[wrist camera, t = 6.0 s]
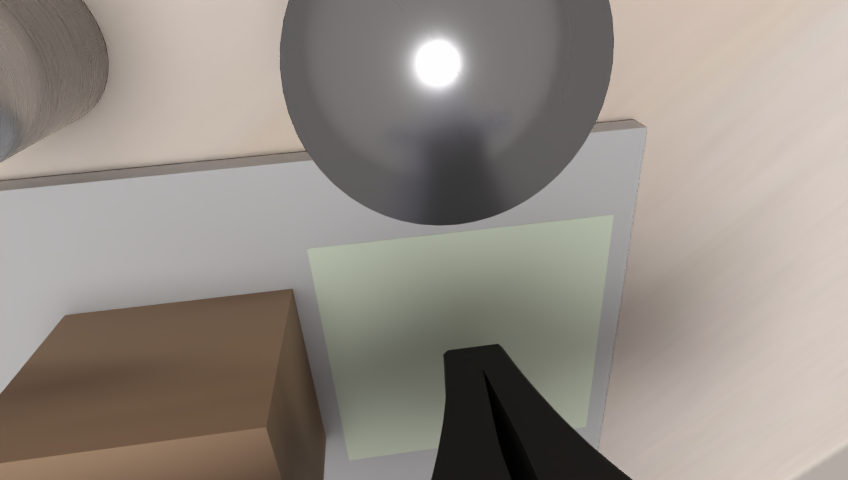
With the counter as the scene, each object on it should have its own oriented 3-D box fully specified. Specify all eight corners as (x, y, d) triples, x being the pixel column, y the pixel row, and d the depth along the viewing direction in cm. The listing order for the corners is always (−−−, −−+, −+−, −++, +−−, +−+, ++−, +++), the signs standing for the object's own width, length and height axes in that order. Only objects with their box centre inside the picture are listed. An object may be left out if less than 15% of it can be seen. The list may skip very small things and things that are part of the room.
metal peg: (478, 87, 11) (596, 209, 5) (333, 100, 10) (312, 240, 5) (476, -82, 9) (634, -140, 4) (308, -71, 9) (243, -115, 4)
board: (587, 452, 17) (595, 468, 16) (-208, 568, 15) (-230, 591, 14) (633, 119, 11) (647, 127, 11) (-592, 238, 10) (-650, 255, 9)
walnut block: (326, 438, 14) (316, 594, 11) (139, 464, 14) (66, 634, 10) (292, 288, 12) (266, 427, 8) (64, 315, 11) (-64, 471, 8)
